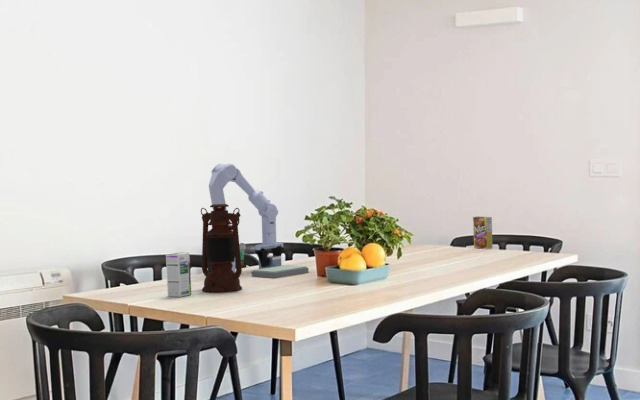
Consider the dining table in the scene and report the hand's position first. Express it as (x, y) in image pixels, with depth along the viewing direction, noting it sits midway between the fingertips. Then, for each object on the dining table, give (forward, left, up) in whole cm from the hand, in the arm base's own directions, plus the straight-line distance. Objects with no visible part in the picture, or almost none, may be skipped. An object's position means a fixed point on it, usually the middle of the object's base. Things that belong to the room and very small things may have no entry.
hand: (270, 266), depth 367 cm
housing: (0, 0, -2) cm, 2 cm away
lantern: (-50, -24, -2) cm, 55 cm away
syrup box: (-67, -21, -2) cm, 70 cm away
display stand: (-8, -13, -2) cm, 15 cm away
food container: (+1, +20, -2) cm, 20 cm away
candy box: (+115, -33, -2) cm, 120 cm away
